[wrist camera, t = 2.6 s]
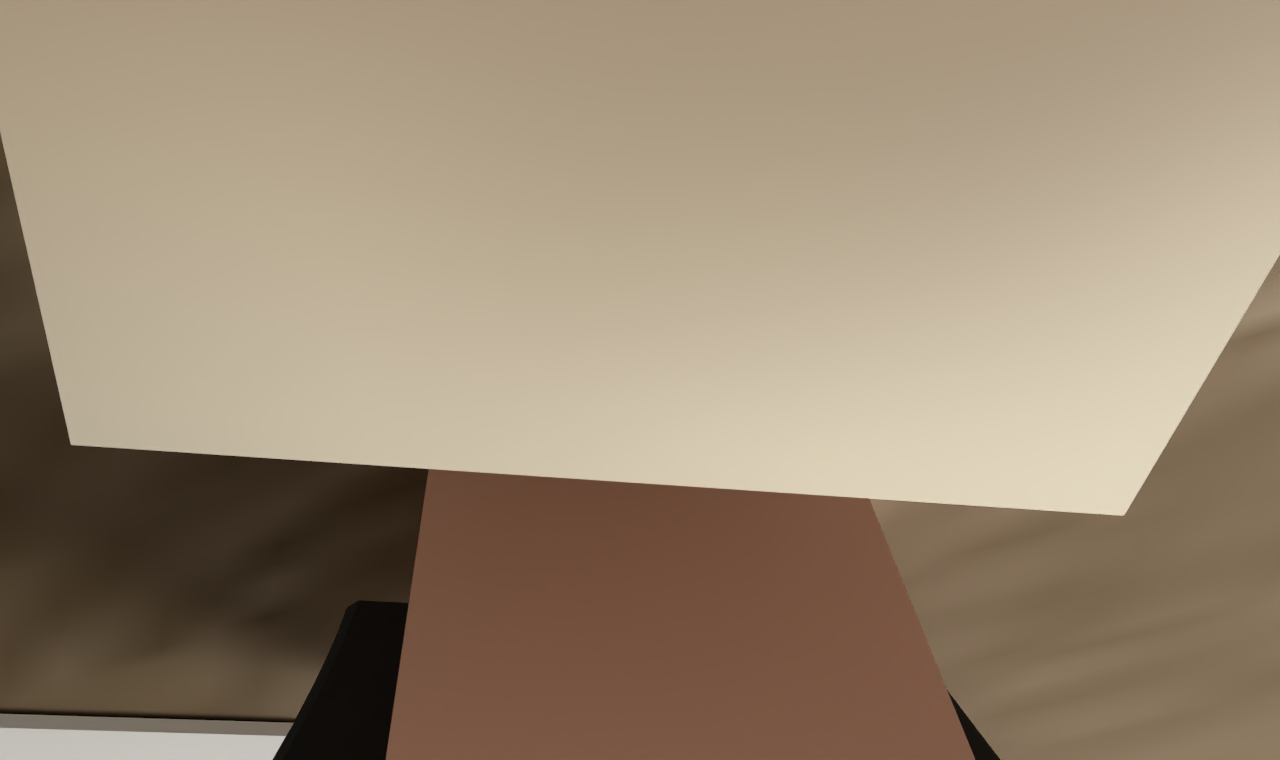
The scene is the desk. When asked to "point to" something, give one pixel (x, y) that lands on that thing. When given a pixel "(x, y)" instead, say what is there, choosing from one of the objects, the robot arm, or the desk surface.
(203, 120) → the birch base block
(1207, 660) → the desk surface
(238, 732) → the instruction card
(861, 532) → the terracotta cube
